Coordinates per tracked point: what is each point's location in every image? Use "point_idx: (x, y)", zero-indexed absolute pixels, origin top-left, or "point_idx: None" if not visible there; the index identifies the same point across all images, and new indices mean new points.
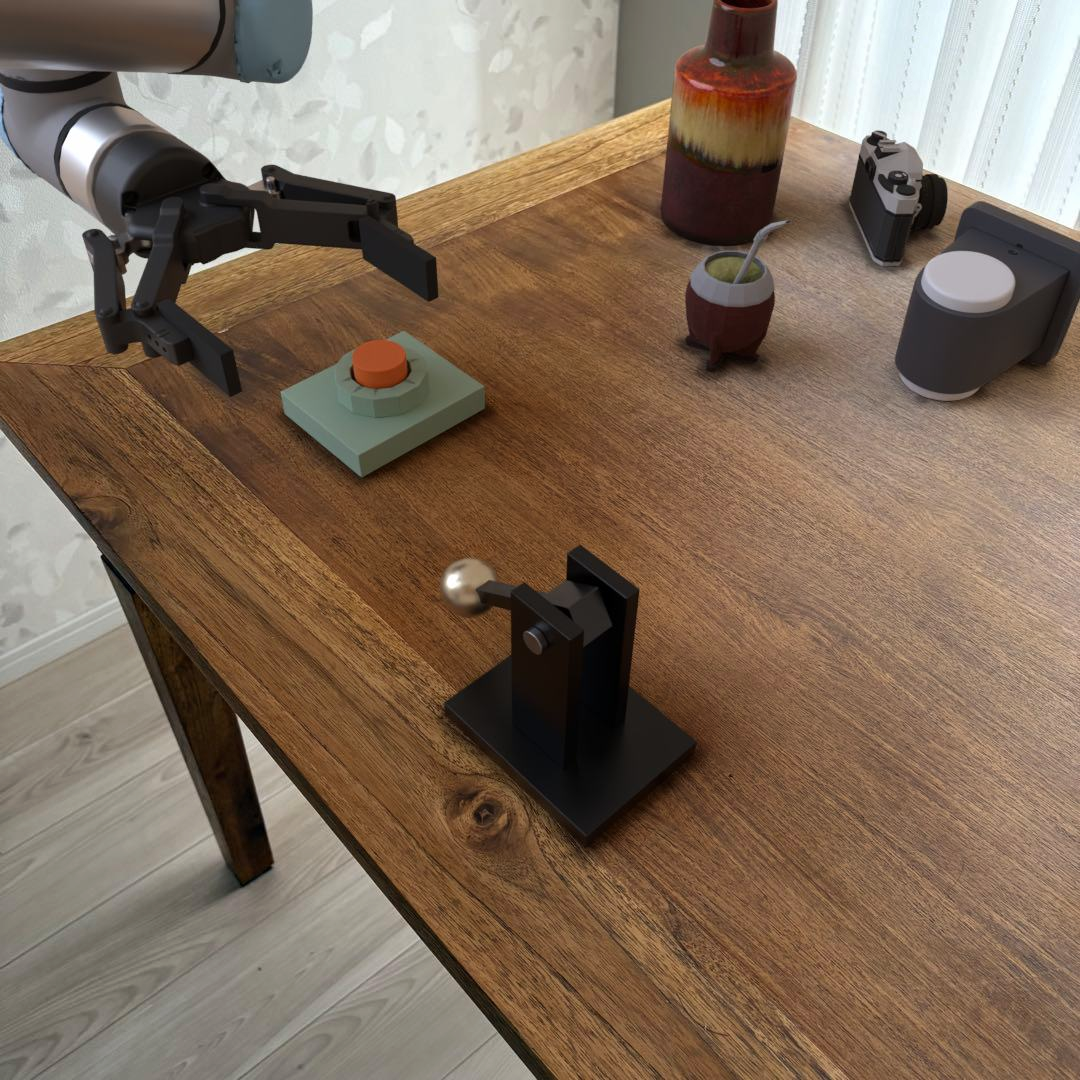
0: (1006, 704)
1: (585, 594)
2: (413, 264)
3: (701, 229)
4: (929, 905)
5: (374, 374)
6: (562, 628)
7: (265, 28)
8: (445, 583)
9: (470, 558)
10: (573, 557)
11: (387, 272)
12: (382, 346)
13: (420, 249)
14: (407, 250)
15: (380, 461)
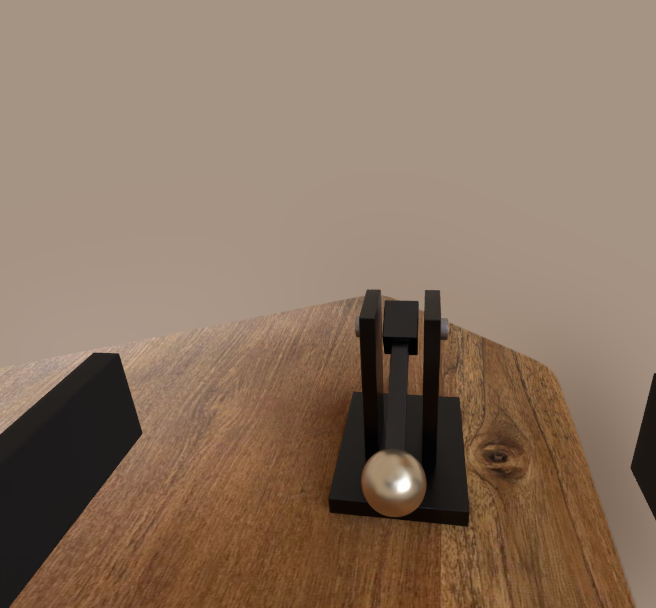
0: (220, 339)
1: (397, 301)
2: (99, 403)
3: None
4: (353, 325)
5: None
6: (436, 295)
7: None
8: (419, 477)
9: (379, 468)
10: (374, 315)
11: (46, 549)
12: None
13: (68, 378)
14: (77, 393)
15: None
